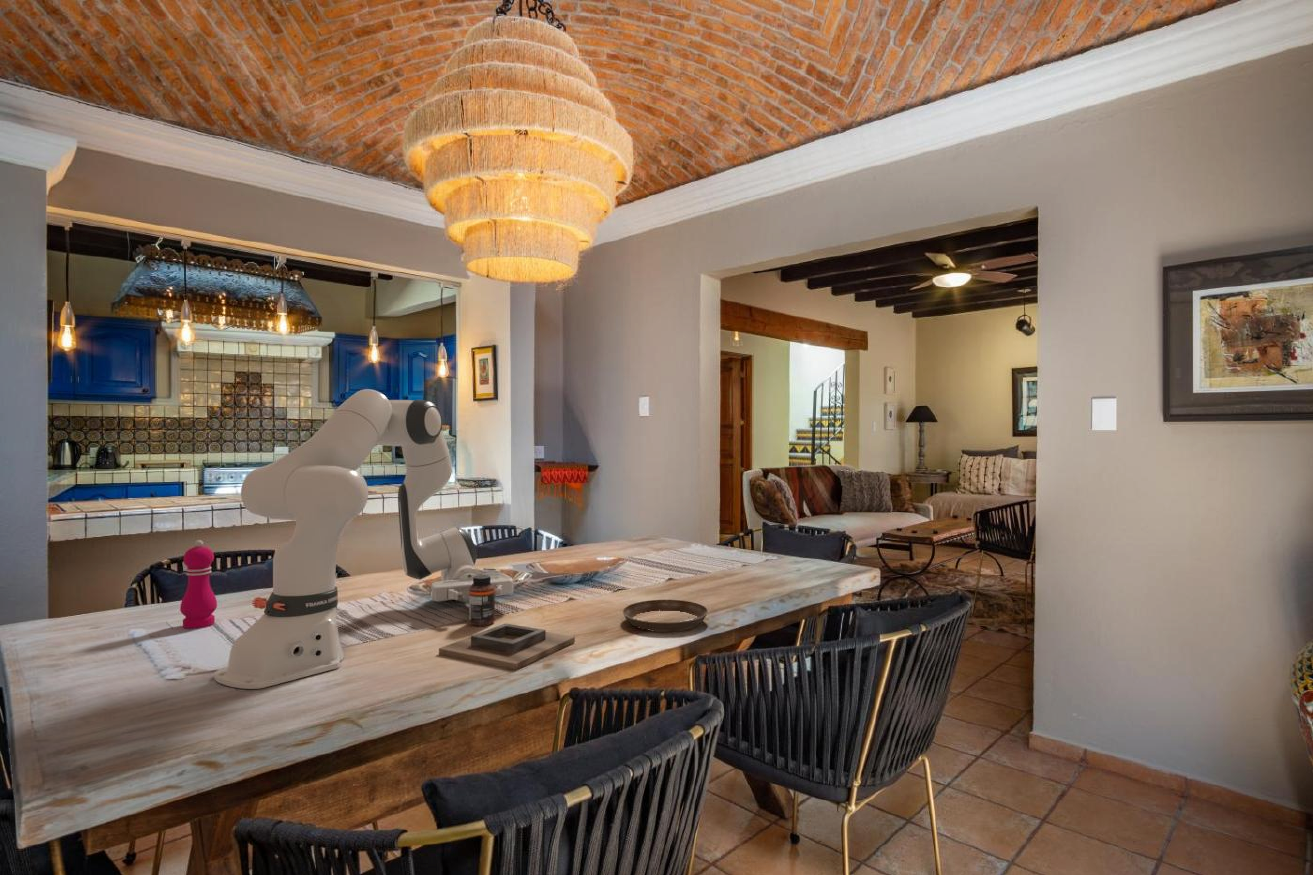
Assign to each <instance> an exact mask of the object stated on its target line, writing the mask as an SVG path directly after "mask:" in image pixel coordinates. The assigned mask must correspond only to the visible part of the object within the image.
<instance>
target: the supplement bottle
mask: <svg viewBox="0 0 1313 875" xmlns="http://www.w3.org/2000/svg"><path fill="white" fill-rule="evenodd" d="M490 581H491V580H490V576H489V575H477V576H474V577H473V582H474V583H473V584H472V586H470V588H469V602H468V604H469V607H468V610H469V612H468V614H469V624H470V625H471V626H475V627H485V626H486V627H487V626H490V625H492V624H494V622H495V621H496V619H495V618H496V616H495V614H496V605H495V604H496V598H495V597H496V596H495V588H494V585H492V584H491V583H490Z"/></svg>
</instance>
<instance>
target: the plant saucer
mask: <svg viewBox="0 0 1313 875" xmlns="http://www.w3.org/2000/svg"><path fill="white" fill-rule="evenodd" d="M659 610H660V611H680V612H686V613H689V614H692V615H695V616H697V618H694V619H693V620H689V621H682V622H648V621H641V620H637V619H633V617H634V616H636V615H637V614H640V613H645V612H650V611H659ZM708 613H709V609H708V608H707V607H706V606H704V605H703V604H701V603H698V602H697V603H696V602H693V601H689V600H681V599H652V600H651V599H650V600H644V601H639V602H634V603H631V604H630V605H629V604H628V605H626V606H625V607H623V609H622V615H624V618H625V619H626V620H627V621H628V623H629V624H631V625H632V626H633V625H634V626H633V627H635V626H637V627H640V628H644V629H650V630H653V631H652V632H656V633H658V632H659V633H674V632H682V631H683V632H684V631H689V630H691V629H693V628H695V627H697V626H699V625H700V624H702V622H703V621H704V619H705V618H706V617H707V615H708ZM688 618H689V617H688ZM637 627H636V628H637Z"/></svg>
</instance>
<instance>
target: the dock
mask: <svg viewBox="0 0 1313 875" xmlns="http://www.w3.org/2000/svg"><path fill="white" fill-rule="evenodd" d="M546 630H547V629H541V628H536V627H528V626H524V625H523V626H522V625H517V624H513V623H503V624H500V625H496V626H495V627H492V628H489V629H486V630H484V631H482V632H478V633H476V634H473V635H471V636H468V637H465V638H463V639H461V640H458V641H455V642H452V643H449V644H447V645H444V646H442V647H439V648H438V654H439V655H440V656H447V657H449V658H450V657H451V658H456V659H459V660H460V659H461V660H466V661H471V662H475V663H480V664H485V665H489V666H494V667H499V668H504V669H510V670H514V671H517V670H519V669H521V668H523V667H526V666H528V665H529V664H533V663H534V662H536V661H538V660H540V659H543V658H544V657H547V656H549V655H552V654H554V653H556V652H557V650H558V651H560V650H562V649H564V648H566V647H568V646H570V645H572V644H574V642H575V641H576V640H575V639H576V637H575V636H571V635H566V634H559V633H554V632H548V631H546ZM559 649H560V650H559Z"/></svg>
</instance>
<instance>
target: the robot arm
mask: <svg viewBox="0 0 1313 875" xmlns="http://www.w3.org/2000/svg"><path fill="white" fill-rule="evenodd" d="M442 427H443V418H442V414H441V412H440V409H439V408H438V407H437V406H436V405H435V404H434V403H433V402H432V401H429V400H423V399H416V400H415V399H414V400H412V399H411V400H410V399H388V397H387V396H386V395H384V394H383V393H382V392H380V391H378V390H376V389H370V388H364V389H360V390H358V391H356V392H355V393H354V394H352V395H351V396H350V397H348V398H347V399H346V400H344V401H343V403H342V404H340V405H339V406H338V407H337V408H336V409H335V410H334V411H333V413H332V414H331V415H330V416H329V417H328V419H327V420H326V421H325V422H324V423H323V424H322V425H321V427H319V429H318V430H317V431H316V432H315V433H314V434H313V435H312V436H311V437H310V438H309V439H308V440H306V441H305V442H303V443H302V444H300V445H299V446H298V447H296V448H294V449H293V450H292V451H289V453H286V454H285V455H283V456H282V457H281V458H278V459H277V460H275V461H273V462H271V463H269V464H266V465H263V466H260V467H258V468H254V469H253V470H251V471H250V472H249V473H248V474H247V475H246V476H245V478H244V480H243V482H242V485H241V490H240V497H241V502H242V504H243V506H244V508H245V509H246V510H247V511H248V512H250V513H251V514H254V515H256V516H259V517H264V518H267V519H271V520H278V521H280V520H284V521H285V520H286V521H295V528H294V531H293V534H292V537H291V538H290V539H289V540H288V541H286V542H285V543H283V544H282V545H280V546H279V547H278V548H276V550H275V551H274V554H273V558H272V592H271V593H270V595H269V598H268V599H267V598H264V597H263V598H262V597H261V596H257V597H255V598H253V600H252V603H251V605H252V607H253V608H255V609H261V610H262V609H264V610H263V613H264V614H263V615H262V616H261V617H260V618H258V619H257V621H255V622H254V623H253V624H252V625H251V626H250V627H249V628H248V629H247V630H246V631H244V632H243V633H242V634H241V635H240V636H239V637H238V638H237V639H236V640H234V642H233V643H232V646H231V648H230V652H229V658H228V662H227V663H228V664H227V666H226V667H223V668H220V669H217V670H216V671H215V672H214V676H213V680H214V681H215V682H217V683H219V684H221V685H224V686H228V687H232V688H236V689H247V690H251V689H252V690H253V689H254V690H255V689H256V690H258V689H264V688H268V687H271V686H276V685H279V684H282V683H287V682H290V681H295V680H297V679H298V680H299V679H302V678H305V677H309V676H313V675H317V674H320V673H324V672H327V671H332V670H336V669H338V668H340V666H341V664H340V663H341V661H342V660H343V659H344V657H345V653H344V651H343V648H342V644H341V640H340V634H339V628H338V621H337V608H338V604H339V602H338V601H339V596H338V595H339V593H338V591H339V590H338V587H337V586H336V568H337V566H336V564H337V552H338V547H339V543H340V541H341V538H342V535H343V533H344V532H345V529H346V528H347V527H348V525H349V524H350V523H351V522H352V521H353V520H354V519H355V518H356V517H359V515H360V514H361V513H362V512H363V511H364V509H365V507H366V505H367V503H368V498H369V488H368V484H367V481H366V480H365V478H364V476H363V475H362V473H361V472H358V471H357V470H358V469H359V468H360V467H362V464H363V463H364V462H365V460H366V459H367V458H368V456H369V455H370V453H372V451H373V449H374V448H375V447H377V446H384V447H385V446H388V447H401V450H402V455H403V459H404V464H405V469H406V470H405V471H406V473H405V477H404V480H403V483H401V484H400V485H399V487H398V490H397V506H398V508H397V509H398V510H397V511H398V522H399V523H398V524H399V533H400V534H399V535H400V565H401V568H402V570H403V571H404V573H405V575H406V576H408V577H409V578H412V579H415V580H419V581H420V580H423V579H425V578H427V577H430V576H431V575H433V574H435V573H438V572H440V578H441V580H437V581H433V582H432V583H431V584H430V586H426V590H425V591H427V593H430V598H431V600H432V602H445V601H454V600H455V601H459V602H463V603H469V588H470V586H472V584H473V583H474V582H473V577H474V576H477V575H489V576H490V580H491V581H490V583H491V584H492V585H494V588H495V597H501V596H502V595H503V596H504V595H512V594H514V589H515V588H514V587H515V586H514V579H513V578H512V577H511V576H510V575H508V574H506V573H502V572H501V569H499V568H481V567H478V566H475V565H476V563H477V558H478V554H477V550H476V549H477V548H476V546H475V543H474V540H473V539H472V537H471V535H470V533H468V532H467V531H466V530H465V529H463V528H461V527H459V526H455V527H452V528H449V529H446V530H442V531H439V532H438V533H434V534H431V535H430V536H429V535H428V536H427V537H423V538H419V533H418V519H417V516H418V511H419V510H420V508H421V506H423V504H424V503H426V502H427V501H428V500H429V499H430V498H431V497H433V496H434V495H436V494H437V493H439V492H440V491H441V490H442V489H443V488H444V487H445V486H446V485H447V483H448V482H449V481H450V479H451V477H452V475H453V474H452V473H453V467H452V466H453V464H452V459H451V453H450V451H449V448H448V444H447V441H446V438H445V436H444V433H443V431H442Z"/></svg>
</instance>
